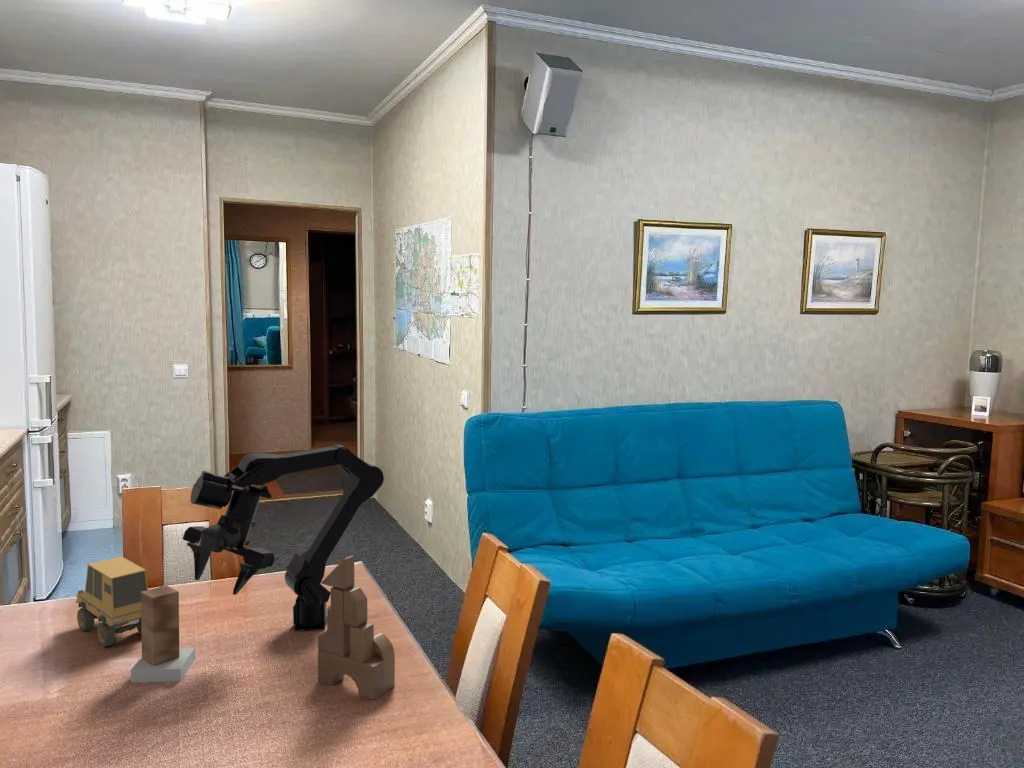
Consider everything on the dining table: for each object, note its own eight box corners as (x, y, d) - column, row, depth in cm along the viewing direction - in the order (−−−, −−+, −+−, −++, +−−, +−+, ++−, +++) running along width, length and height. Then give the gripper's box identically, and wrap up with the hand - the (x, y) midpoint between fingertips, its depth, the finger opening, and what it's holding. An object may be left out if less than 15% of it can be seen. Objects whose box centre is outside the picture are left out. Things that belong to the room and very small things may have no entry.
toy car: (122, 613, 179) (119, 549, 178) (159, 638, 167) (157, 569, 165) (73, 626, 172) (70, 560, 170) (108, 654, 159) (105, 582, 157)
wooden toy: (397, 685, 148) (397, 556, 145) (373, 700, 142) (373, 566, 139) (335, 665, 156) (334, 542, 153) (311, 679, 150) (309, 551, 147)
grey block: (195, 662, 157) (194, 647, 157) (181, 683, 148) (180, 668, 148) (148, 663, 156) (148, 648, 156) (131, 685, 147) (130, 670, 147)
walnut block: (167, 650, 156) (166, 585, 155) (179, 657, 152) (178, 591, 151) (141, 657, 152) (140, 591, 151) (153, 665, 149) (152, 597, 148)
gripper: (179, 499, 158) (152, 575, 156) (258, 528, 153) (232, 606, 152) (211, 500, 168) (186, 571, 167) (286, 527, 164) (262, 600, 162)
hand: (215, 587), depth 162 cm, fingers open, 9 cm apart
